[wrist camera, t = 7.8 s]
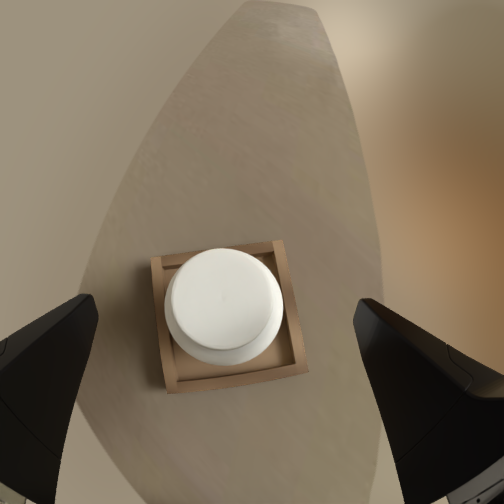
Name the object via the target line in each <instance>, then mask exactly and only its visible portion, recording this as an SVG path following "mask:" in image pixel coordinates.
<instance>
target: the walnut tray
mask: <svg viewBox="0 0 504 504" xmlns="http://www.w3.org/2000/svg"><path fill="white" fill-rule="evenodd" d="M217 249H219V248H217ZM224 249H233V250H238V251H242V252H244V253H247V254H249V255H251V256H253V257H255V258H256V259H258V260H259V261H260V262H262V263H263V264H264V265H265V266H266V267H267V268H268V269H269V270H270V272H271V273H272V274H273V276H274V277H275V279H276V281H277V283H278V285H279V288H280V291H281V294H282V299H283V316H282V321H281V325H280V328H279V330H278V332H277V334H276V336H275V338H274V339H273V341H272V342H271V344H270V345H269V346H268V347H267V348H266V349H265V350H264V351H263V352H262V353H261V354H259V355H258V356H256V357H255V358H253V359H251V360H249V361H246V362H244V363H241V364H236V365H229V366H219V365H212V364H208V363H205V362H202V361H200V360H198V359H196V358H194V357H192V356H191V355H189V354H188V353H187V352H185V351H184V350H183V349H182V348H181V347H180V346H179V345H178V343H177V342H176V341H175V339H174V338H173V336H172V334H171V332H170V330H169V328H168V325H167V322H166V318H165V305H164V304H165V296H166V292H167V288H168V286H169V283H170V281H171V279H172V277H173V276H174V274H175V273H176V272H177V270H178V269H179V268H180V267H181V266H182V265H183V264H184V263H185V262H186V261H188V260H189V259H190V258H192V257H194V256H195V255H197V254H199V253H202V252H204V251H207V250H202V251H195V252H188V253H180V254H173V255H166V256H159V257H152V258H151V270H152V284H153V295H154V306H155V315H156V324H157V332H158V340H159V347H160V354H161V360H162V367H163V373H164V378H165V384H166V390H167V394H173V393H185V392H195V391H205V390H213V389H221V388H228V387H235V386H242V385H248V384H254V383H259V382H265V381H270V380H275V379H280V378H285V377H289V376H294V375H298V374H303V373H307V372H309V371H308V366H307V360H306V354H305V349H304V344H303V338H302V333H301V328H300V322H299V317H298V312H297V307H296V302H295V297H294V292H293V287H292V282H291V277H290V273H289V268H288V263H287V258H286V254H285V249H284V245H283V240H277V241H269V242H261V243H254V244H246V245H239V246H232V247H224ZM209 250H211V249H209Z"/></svg>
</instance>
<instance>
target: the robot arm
mask: <svg viewBox="0 0 504 504" xmlns="http://www.w3.org/2000/svg"><path fill="white" fill-rule="evenodd" d="M97 323H98V311H97V308H96V305H95V301H94V298H93V296H92V295H91V294H79V295H78V296H76V297H74V298H72V299H70V300H69V301H67V302H65V303H63V304H62V305H60V306H58V307H57V308H55V309H53V310H51V311H50V312H48V313H46V314H45V315H43V316H41V317H40V318H38V319H36V320H35V321H33V322H31V323H30V324H28V325H26V326H25V327H23V328H21V329H20V330H18V331H16V332H15V333H13V334H12V335H10V336H9V337H8V338H5V339H4V340H2V341H0V504H25V503H26V499H29V500H30V501H32V502H34V503H36V504H55V495H56V488H57V481H58V475H59V469H60V464H61V458H62V452H63V448H64V443H65V438H66V434H67V430H68V426H69V422H70V418H71V414H72V410H73V407H74V403H75V400H76V396H77V393H78V389H79V386H80V383H81V380H82V377H83V374H84V370H85V367H86V364H87V361H88V358H89V355H90V351H91V347H92V343H93V339H94V335H95V331H96V327H97ZM353 325H354V329H355V333H356V337H357V341H358V345H359V349H360V353H361V357H362V361H363V364H364V367H365V369H366V372H367V375H368V378H369V381H370V384H371V387H372V390H373V393H374V396H375V399H376V402H377V405H378V408H379V411H380V414H381V417H382V421H383V424H384V427H385V430H386V433H387V437H388V441H389V444H390V447H391V451H392V455H393V458H394V462H395V463H396V464H395V466H396V470H397V474H398V478H399V482H400V486H401V490H402V494H403V498H404V502H405V504H431V503H433V502H435V501H437V500H439V499H441V498H443V497H444V496H446V497H447V500H448V502H449V504H504V375H502V374H500V373H498V372H496V371H495V370H493V369H491V368H489V367H487V366H485V365H483V364H481V363H479V362H477V361H476V360H474V359H472V358H470V357H468V356H466V355H465V354H463V353H461V352H460V351H458V350H456V349H455V348H453V347H452V346H450V345H448V344H447V345H446V343H445V342H443V341H442V340H440V339H438V338H437V337H435V336H433V335H432V334H430V333H429V332H427V331H425V330H423V329H422V328H420V327H418V326H417V325H415V324H414V323H412V322H410V321H409V320H407V319H405V318H403V317H402V316H400V315H399V314H397V313H395V312H394V311H392V310H390V309H389V308H387V307H385V306H384V305H382V304H380V303H379V302H377V301H375V300H373V299H372V298H362V299H360V300H359V302H358V305H357V308H356V311H355V314H354V318H353Z"/></svg>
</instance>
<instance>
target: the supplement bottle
mask: <svg viewBox="0 0 504 504" xmlns="http://www.w3.org/2000/svg"><path fill="white" fill-rule="evenodd" d="M164 305H165V318H166V322H167V325H168V328H169V330H170V332H171V334H172V336H173V338H174V339H175V341H176V342H177V343H178V345H179V346H180V347H181V348H182V349H183V350H184V351H185V352H187V353H188V354H189V355H191V356H192V357H194V358H196V359H198V360H200V361H202V362H205V363H208V364H212V365H219V366H229V365H236V364H241V363H244V362H246V361H249V360H251V359H253V358H255V357H256V356H258V355H259V354H261V353H262V352H263V351H264V350H265V349H266V348H267V347H268V346H269V345H270V344H271V342H272V341H273V339H274V338H275V336H276V334H277V332H278V330H279V328H280V325H281V321H282V316H283V299H282V294H281V291H280V288H279V285H278V283H277V281H276V279H275V277H274V276H273V274H272V273H271V272H270V270H269V269H268V268H267V267H266V266H265V265H264V264H263V263H262V262H260V261H259V260H258V259H256V258H255V257H253V256H251V255H249V254H247V253H244V252H242V251H238V250H233V249H224V248H219V249H211V250H207V251H204V252H202V253H199V254H197V255H195V256H194V257H192V258H190V259H189V260H188V261H186V262H185V263H184V264H183V265H182V266H181V267H180V268H179V269H178V270H177V272H176V273H175V274H174V276H173V277H172V279H171V281H170V283H169V286H168V288H167V292H166V296H165V304H164Z"/></svg>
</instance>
